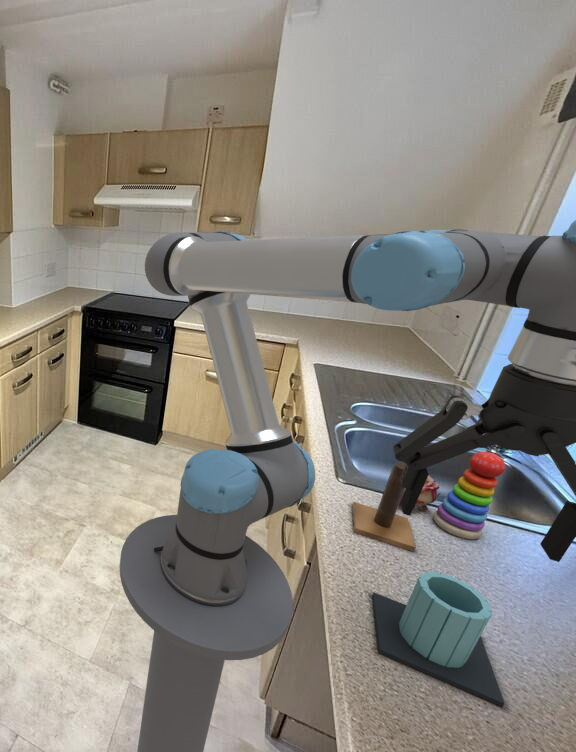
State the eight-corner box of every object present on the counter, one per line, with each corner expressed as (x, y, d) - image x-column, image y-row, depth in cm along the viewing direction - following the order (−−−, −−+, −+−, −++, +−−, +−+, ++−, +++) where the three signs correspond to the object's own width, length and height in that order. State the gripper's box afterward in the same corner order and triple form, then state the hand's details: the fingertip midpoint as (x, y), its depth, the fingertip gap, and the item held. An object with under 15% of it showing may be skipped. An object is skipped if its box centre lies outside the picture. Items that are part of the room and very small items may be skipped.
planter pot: (402, 649, 63) (424, 601, 59) (396, 609, 69) (415, 563, 66) (472, 678, 59) (499, 629, 56) (458, 633, 66) (482, 586, 62)
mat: (378, 652, 63) (379, 649, 63) (372, 595, 73) (373, 592, 73) (502, 707, 56) (505, 703, 56) (477, 636, 66) (479, 632, 66)
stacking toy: (443, 535, 87) (476, 460, 80) (424, 511, 94) (454, 440, 87) (489, 544, 85) (527, 467, 78) (466, 519, 92) (500, 446, 85)
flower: (444, 499, 96) (428, 466, 97) (454, 514, 88) (436, 478, 89) (395, 507, 101) (380, 476, 102) (400, 522, 93) (383, 488, 94)
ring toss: (354, 532, 87) (375, 470, 82) (352, 505, 95) (371, 447, 90) (413, 551, 83) (440, 487, 77) (406, 522, 91) (430, 461, 85)
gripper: (412, 358, 46) (355, 509, 54) (784, 421, 35) (642, 600, 43) (403, 341, 52) (353, 479, 60) (716, 389, 41) (603, 552, 49)
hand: (472, 529), depth 51 cm, fingers open, 13 cm apart
